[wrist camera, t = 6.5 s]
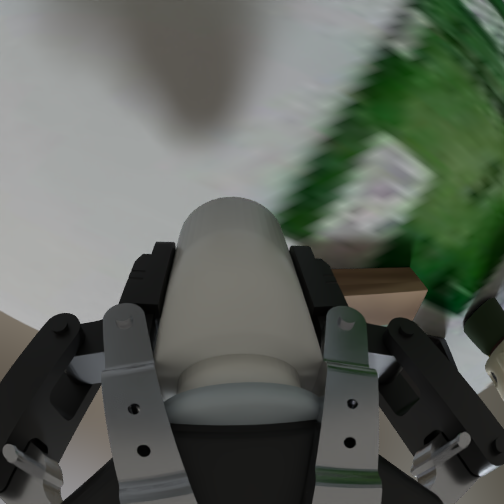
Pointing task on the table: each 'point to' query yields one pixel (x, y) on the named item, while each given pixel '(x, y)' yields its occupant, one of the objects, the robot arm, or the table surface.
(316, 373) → the white rounded cylinder
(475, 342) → the character mug
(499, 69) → the table surface
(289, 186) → the table surface
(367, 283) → the wooden frame
